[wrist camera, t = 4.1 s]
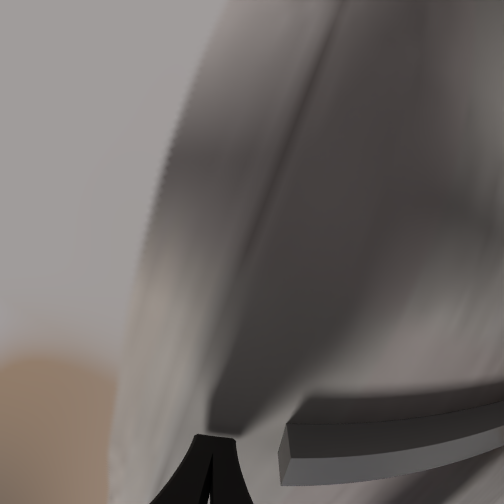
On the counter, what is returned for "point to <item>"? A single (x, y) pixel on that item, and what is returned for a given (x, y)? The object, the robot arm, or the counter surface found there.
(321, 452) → the orange and grey bar
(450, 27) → the counter surface
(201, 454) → the robot arm
